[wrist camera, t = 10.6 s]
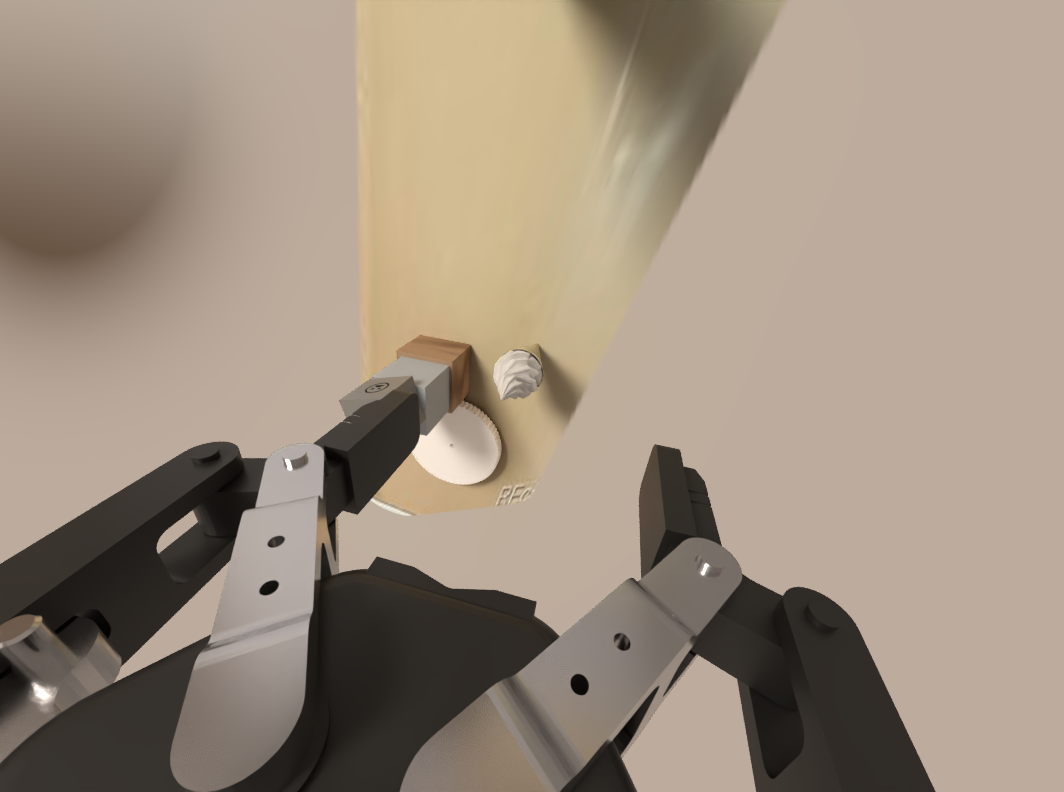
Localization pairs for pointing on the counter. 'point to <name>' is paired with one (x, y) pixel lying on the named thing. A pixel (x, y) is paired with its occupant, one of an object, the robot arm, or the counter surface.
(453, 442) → the plastic lid
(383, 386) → the dice cube
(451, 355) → the tower base
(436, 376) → the tower top
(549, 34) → the counter surface
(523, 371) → the ice cream cone
